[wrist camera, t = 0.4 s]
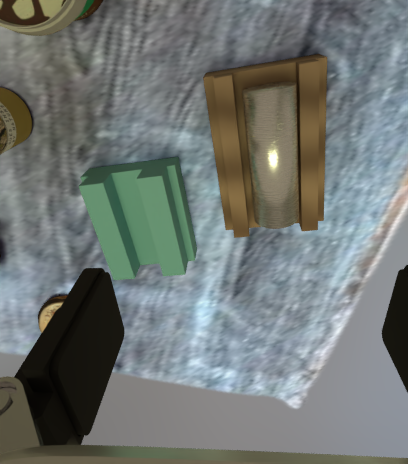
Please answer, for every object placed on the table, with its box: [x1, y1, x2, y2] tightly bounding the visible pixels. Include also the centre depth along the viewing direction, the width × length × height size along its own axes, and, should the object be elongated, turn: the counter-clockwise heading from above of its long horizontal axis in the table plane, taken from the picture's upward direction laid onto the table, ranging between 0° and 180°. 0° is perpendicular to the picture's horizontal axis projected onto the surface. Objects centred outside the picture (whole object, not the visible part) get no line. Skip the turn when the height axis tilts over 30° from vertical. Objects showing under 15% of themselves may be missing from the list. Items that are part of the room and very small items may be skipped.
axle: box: [242, 82, 299, 229], centre depth 35 cm, size 14×5×5 cm, turn 9°
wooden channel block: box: [203, 54, 327, 238], centre depth 39 cm, size 18×12×6 cm, turn 9°
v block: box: [79, 157, 197, 280], centre depth 45 cm, size 14×12×6 cm
